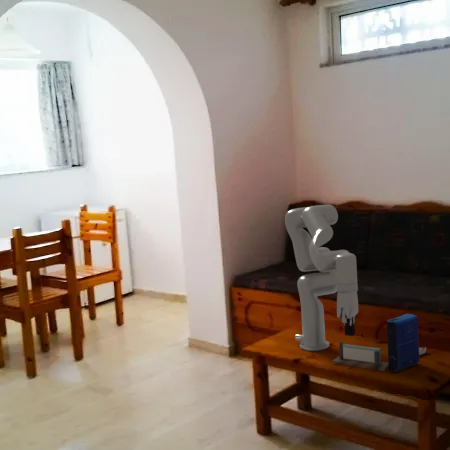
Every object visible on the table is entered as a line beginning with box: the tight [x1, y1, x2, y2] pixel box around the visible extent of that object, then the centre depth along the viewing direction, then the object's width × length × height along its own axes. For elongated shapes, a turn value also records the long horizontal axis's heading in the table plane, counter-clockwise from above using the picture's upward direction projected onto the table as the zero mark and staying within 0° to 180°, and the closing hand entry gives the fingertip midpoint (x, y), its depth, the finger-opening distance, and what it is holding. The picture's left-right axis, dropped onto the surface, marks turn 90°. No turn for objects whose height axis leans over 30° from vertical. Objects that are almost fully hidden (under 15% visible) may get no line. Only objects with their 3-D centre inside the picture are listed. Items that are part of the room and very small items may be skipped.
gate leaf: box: [343, 343, 382, 363], centre depth 245 cm, size 15×2×6 cm, turn 57°
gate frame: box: [332, 341, 388, 372], centre depth 245 cm, size 21×6×8 cm, turn 57°
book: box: [386, 313, 420, 373], centre depth 238 cm, size 14×5×20 cm, turn 126°
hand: (349, 334), depth 235 cm, fingers closed
